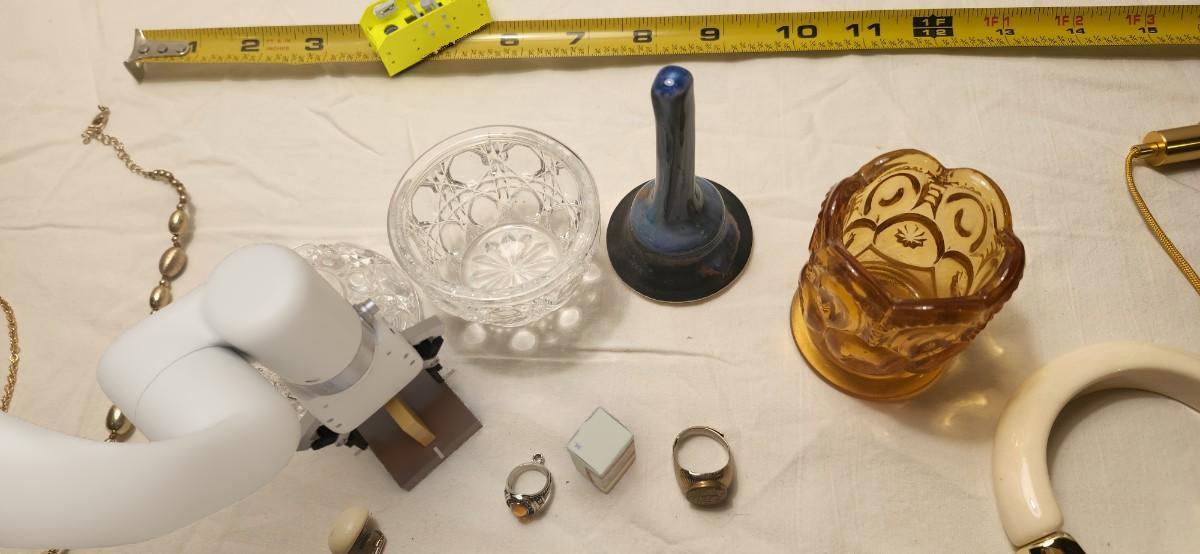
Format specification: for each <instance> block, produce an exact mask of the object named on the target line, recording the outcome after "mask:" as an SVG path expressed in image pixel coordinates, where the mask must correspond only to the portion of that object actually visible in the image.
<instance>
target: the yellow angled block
mask: <svg viewBox="0 0 1200 554" xmlns="http://www.w3.org/2000/svg"><path fill="white" fill-rule="evenodd" d="M383 406H384V408H385V409H386V410H387V411H388V413H389V414H390V415H391V416H392V417H393V419H394V420H395V421H396V422H397V423H398V425H399V426H400V427H401V428H402V429H403V431H405V432H406V433H407V434H409V435H410V436H412V437H413V438H414V439H416V440H417V441H418V442H420V443H421V444H423V445H424V446H425V447H426V446H427V445H429V444H430V443H431V442H432V441H433V440H434V439H435V438H436V436H435V435H434V434H433V433H432V432H431V431H430V429H429V428H428V427H427V426H426V425H425V423H424V422H423V421H422V420H421V419H420V418H419V416H418V415H417V414H416V413H415V412H414V410H413V409H412V408H411V407H410V406H409V405H408V403H407V402H406V401H405V400H404V399H403V397H402V396H401V395H400V394H399V393H397V394H396V395H395V396H393V397H392V398H391V399H390V400H389V401H388V402H386V403H385V404H384V405H383Z"/></svg>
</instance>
